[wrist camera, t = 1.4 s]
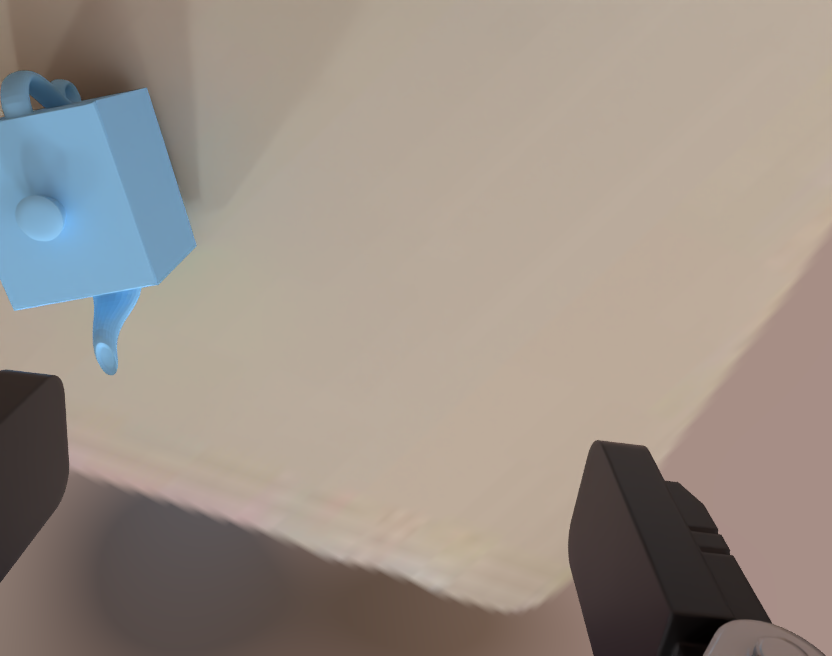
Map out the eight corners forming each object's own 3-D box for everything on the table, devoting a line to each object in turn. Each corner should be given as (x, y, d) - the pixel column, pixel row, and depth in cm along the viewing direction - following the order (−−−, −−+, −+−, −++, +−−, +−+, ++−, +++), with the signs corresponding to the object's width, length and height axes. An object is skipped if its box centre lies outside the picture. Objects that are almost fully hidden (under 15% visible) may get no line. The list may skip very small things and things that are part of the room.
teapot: (222, 305, 36) (175, 372, 29) (105, 325, 37) (32, 397, 30) (143, 49, 32) (65, 58, 25) (10, 77, 32) (-102, 93, 25)
